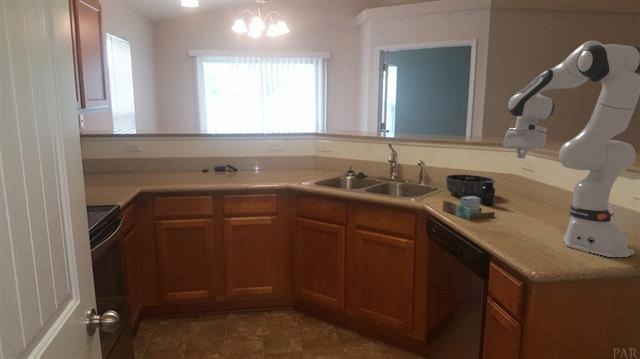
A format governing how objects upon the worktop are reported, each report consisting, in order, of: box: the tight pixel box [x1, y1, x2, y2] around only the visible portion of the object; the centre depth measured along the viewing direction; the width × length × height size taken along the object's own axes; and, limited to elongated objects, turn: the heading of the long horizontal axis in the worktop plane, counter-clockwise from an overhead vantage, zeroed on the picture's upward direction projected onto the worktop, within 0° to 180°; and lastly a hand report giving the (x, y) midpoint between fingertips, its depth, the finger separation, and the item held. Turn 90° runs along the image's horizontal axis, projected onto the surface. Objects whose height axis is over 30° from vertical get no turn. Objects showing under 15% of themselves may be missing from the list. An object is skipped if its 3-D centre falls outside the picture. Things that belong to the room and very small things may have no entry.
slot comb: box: [442, 199, 495, 221], centre depth 200 cm, size 18×15×5 cm
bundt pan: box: [445, 174, 496, 198], centre depth 241 cm, size 26×26×10 cm
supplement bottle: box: [480, 181, 496, 207], centre depth 218 cm, size 7×7×12 cm
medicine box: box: [459, 196, 481, 214], centre depth 197 cm, size 8×4×9 cm, turn 112°
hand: (521, 158), depth 193 cm, fingers closed
